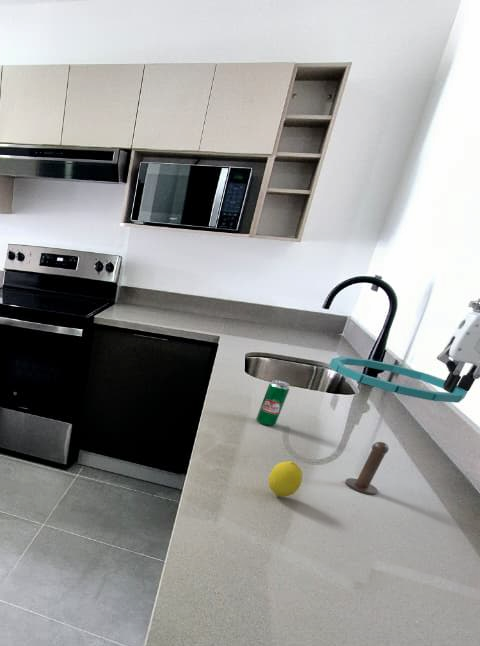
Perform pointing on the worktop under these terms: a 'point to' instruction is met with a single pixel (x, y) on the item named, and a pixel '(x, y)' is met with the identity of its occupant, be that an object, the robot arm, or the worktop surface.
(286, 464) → the lemon
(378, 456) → the ring toss
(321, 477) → the worktop surface
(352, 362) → the ring
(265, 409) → the soda can
